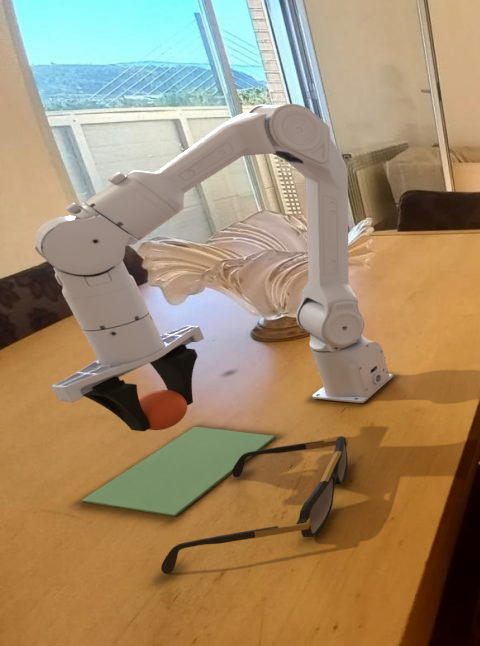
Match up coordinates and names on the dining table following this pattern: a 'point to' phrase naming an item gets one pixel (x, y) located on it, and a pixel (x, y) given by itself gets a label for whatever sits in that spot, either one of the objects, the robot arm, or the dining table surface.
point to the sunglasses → (312, 510)
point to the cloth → (179, 471)
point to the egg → (163, 408)
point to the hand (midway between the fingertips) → (164, 415)
